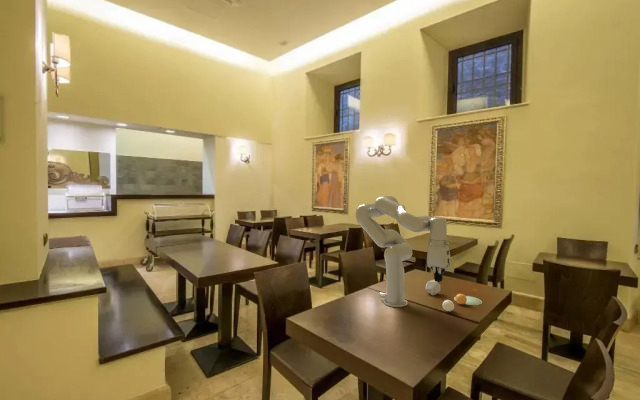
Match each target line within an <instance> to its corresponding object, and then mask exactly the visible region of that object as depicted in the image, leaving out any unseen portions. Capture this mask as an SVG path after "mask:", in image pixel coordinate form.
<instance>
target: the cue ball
mask: <svg viewBox="0 0 640 400" xmlns="http://www.w3.org/2000/svg"><path fill="white" fill-rule="evenodd" d="M441 306H442V308H443V310H444V311H445V312H452V311H453V310H454V309H455V304H454V302H453V301H452V300H450V299H444V301H443V302H442V305H441Z"/></svg>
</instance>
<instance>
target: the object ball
mask: <svg viewBox="0 0 640 400" xmlns="http://www.w3.org/2000/svg"><path fill="white" fill-rule="evenodd" d="M466 296H467V295H465V294H463V293H457V294H456V295H455V297H456V298H455V299H456V301H455V302H456V303H457V304H458V305H466V304H465V303H466V302H467V298H466Z"/></svg>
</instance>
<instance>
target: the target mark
mask: <svg viewBox="0 0 640 400" xmlns="http://www.w3.org/2000/svg"><path fill="white" fill-rule="evenodd" d="M465 296H466V298H467V302H466V303H465V304H464V305H465V306H466V305H467V306H479V305H482V304H483V301H482V300H481V299H479V298H478V297H474V296H470V295H465ZM455 298H456V296H454V297H453V300H454V301H455V302H456V299H455Z"/></svg>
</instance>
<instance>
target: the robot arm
mask: <svg viewBox="0 0 640 400" xmlns="http://www.w3.org/2000/svg"><path fill="white" fill-rule="evenodd" d="M384 215H387V216H389V217H390V218H393V219H395V220H396V222H397V223H398V224H399V225H400V226H401V227H403V228H405V229H407V230H409V231H411V232H414V233H422V232H428V231H429V245H428V248H427V254H426V267H428V268H429V269H431V270H432V272H433V274H434V275H433V280H435V281H436V282H438V283H440V282H442V281H443V274H444V273H445V272H448V271H451V262H452V261H451V260H452V259H451V252H450V246H449V245H450V241H448V238H447V231H448V229H447V225H448V224H447V219H446V218H445V217H442V216H440V217H439V216H435V217H434V216H429V215H421V216H415V215H413V214H411V213H409V212H407V211H406V206H405V205H404V204H402V203H400V202H399V201H398V200H397V198H396V197H394V196H392V195H391V196H390V195H389V196H388V195H385V196H384V195H383V196H382V195H381V196H379V197H377V198H376V199H375V201H374V202H373V203H362V204H360V205H359V206H358V207H357V208H356V211H355V219H356V221H357V223H358V224H359V226H360V228H362V229H363V230H364V231H365V232H366V233H367V235H368V236H369V238H371V240H372V241H373V242H374V243H375V244H376V245H377V247H379V248H385V250H384V252H383V253H384V254H383V257H384V261H385V276H386V281H385V284H386V288H385V290H386V293H385V292H379V297H380V298H383V304H385V305H386V306H388V307H393V308H403V307H407V306H408V300H407V299H405V268H404V264H403V262H404V261H407V260H409V259H411V257H412V256H413V249H412V246H411V245H410V244H409V242H408V241H407V240H406V239H405V238H404V237H403V236H402V235H401V234H400V233H399V232H398V231H396V230H395V229H384V228H383V226H381V225H380V224H379V222H377V221H376V220H375V219H373V218H379V217H382V216H384Z"/></svg>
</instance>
